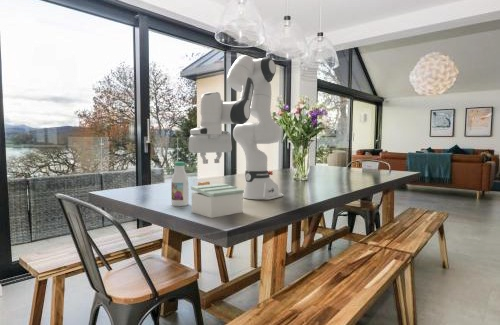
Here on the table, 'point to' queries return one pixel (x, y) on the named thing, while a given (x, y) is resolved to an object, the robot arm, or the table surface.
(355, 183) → the table surface
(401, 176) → the table surface
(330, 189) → the table surface
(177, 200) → the milk bottle
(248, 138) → the robot arm
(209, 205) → the box
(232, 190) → the snap lid
